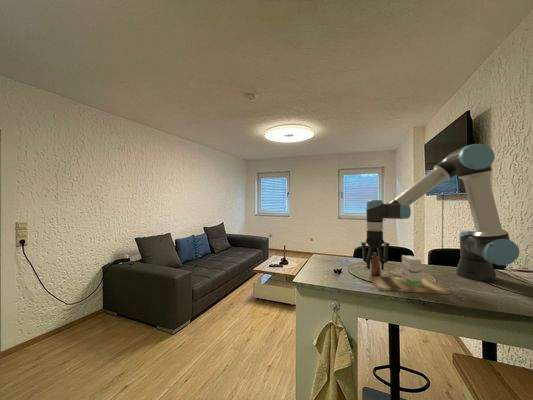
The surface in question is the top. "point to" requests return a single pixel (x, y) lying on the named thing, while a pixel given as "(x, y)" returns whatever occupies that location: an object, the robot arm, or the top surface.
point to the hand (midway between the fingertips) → (375, 275)
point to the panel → (400, 285)
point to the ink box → (411, 271)
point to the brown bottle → (375, 265)
